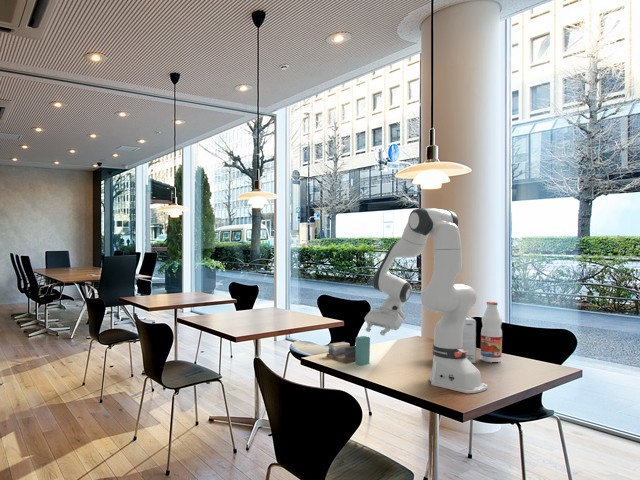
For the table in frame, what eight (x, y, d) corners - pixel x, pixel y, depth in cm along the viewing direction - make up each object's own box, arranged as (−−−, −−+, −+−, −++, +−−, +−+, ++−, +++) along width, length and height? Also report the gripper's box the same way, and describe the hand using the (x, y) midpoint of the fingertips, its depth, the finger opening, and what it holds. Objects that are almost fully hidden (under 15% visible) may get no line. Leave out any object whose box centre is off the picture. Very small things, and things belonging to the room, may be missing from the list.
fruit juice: (504, 360, 220) (506, 302, 220) (496, 364, 213) (497, 303, 213) (486, 357, 226) (487, 300, 227) (477, 360, 220) (478, 301, 220)
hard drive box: (472, 359, 221) (473, 318, 221) (476, 363, 214) (476, 320, 214) (439, 357, 223) (440, 316, 223) (442, 361, 215) (442, 319, 215)
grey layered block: (365, 359, 216) (365, 345, 216) (345, 363, 209) (346, 349, 209) (345, 353, 227) (345, 340, 227) (326, 357, 220) (326, 343, 220)
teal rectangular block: (369, 363, 209) (369, 337, 209) (361, 365, 206) (361, 338, 206) (363, 362, 212) (363, 336, 212) (355, 363, 209) (355, 337, 209)
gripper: (371, 303, 226) (355, 324, 220) (402, 308, 210) (386, 332, 204) (377, 311, 229) (362, 333, 223) (408, 317, 213) (393, 341, 207)
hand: (374, 332), depth 214 cm, fingers open, 8 cm apart
